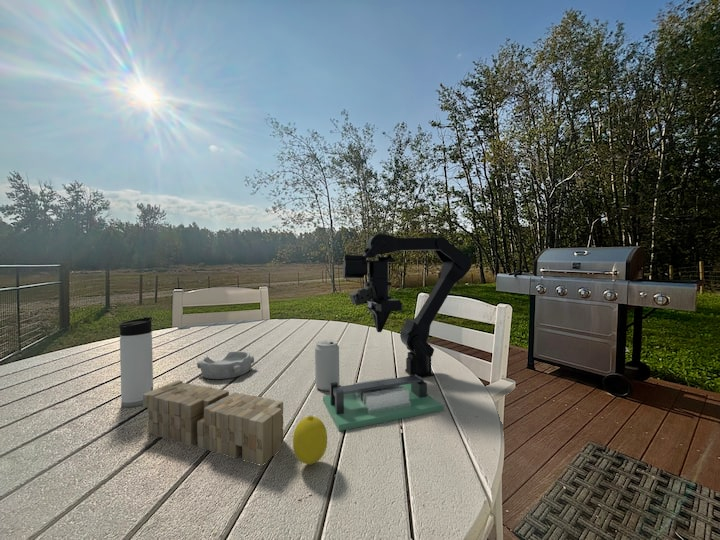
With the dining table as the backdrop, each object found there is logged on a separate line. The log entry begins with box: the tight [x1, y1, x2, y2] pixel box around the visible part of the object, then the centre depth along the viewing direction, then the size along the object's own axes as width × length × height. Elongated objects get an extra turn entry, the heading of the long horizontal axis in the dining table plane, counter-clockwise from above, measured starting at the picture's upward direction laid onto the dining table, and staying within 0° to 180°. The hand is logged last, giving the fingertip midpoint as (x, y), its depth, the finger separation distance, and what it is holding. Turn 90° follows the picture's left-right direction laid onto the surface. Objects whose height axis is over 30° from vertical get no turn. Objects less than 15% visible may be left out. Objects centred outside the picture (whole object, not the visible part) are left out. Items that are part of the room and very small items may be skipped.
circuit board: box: [322, 384, 444, 432], centre depth 70 cm, size 24×14×1 cm, turn 110°
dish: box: [196, 350, 255, 380], centre depth 94 cm, size 14×14×5 cm
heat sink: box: [329, 376, 428, 414], centre depth 70 cm, size 22×10×5 cm, turn 110°
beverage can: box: [314, 339, 341, 392], centre depth 81 cm, size 6×6×12 cm
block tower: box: [142, 379, 284, 465], centre depth 58 cm, size 8×8×29 cm
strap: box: [333, 374, 425, 396], centre depth 70 cm, size 22×3×1 cm, turn 110°
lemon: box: [292, 414, 328, 466], centre depth 50 cm, size 6×6×8 cm
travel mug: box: [119, 316, 154, 408], centre depth 74 cm, size 6×7×20 cm
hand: (379, 332), depth 89 cm, fingers closed
